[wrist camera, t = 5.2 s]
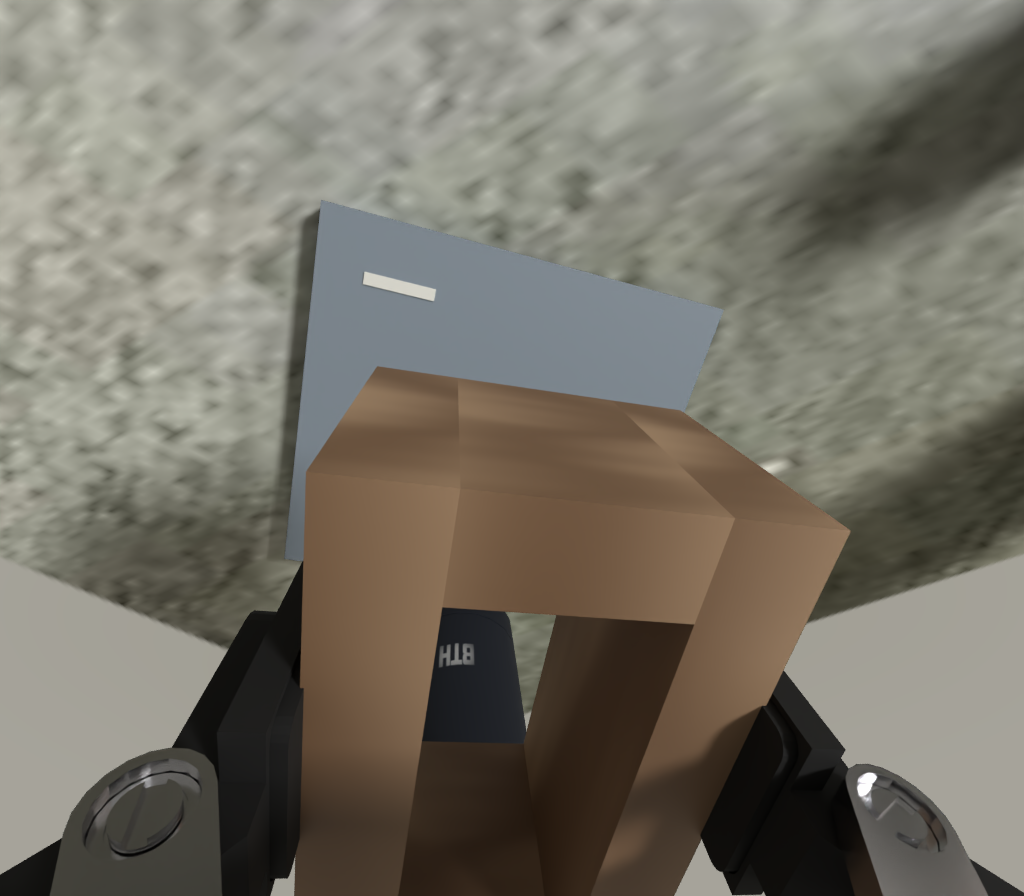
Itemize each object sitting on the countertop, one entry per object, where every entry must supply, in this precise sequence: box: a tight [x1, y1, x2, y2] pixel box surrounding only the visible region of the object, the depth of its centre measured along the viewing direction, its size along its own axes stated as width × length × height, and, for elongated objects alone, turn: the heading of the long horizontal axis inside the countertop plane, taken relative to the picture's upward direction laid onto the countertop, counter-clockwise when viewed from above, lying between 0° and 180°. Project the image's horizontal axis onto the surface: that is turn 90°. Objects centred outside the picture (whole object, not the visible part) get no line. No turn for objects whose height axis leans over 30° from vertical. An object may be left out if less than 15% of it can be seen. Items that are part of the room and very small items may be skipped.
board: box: [284, 200, 723, 561], centre depth 23 cm, size 18×17×4 cm
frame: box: [294, 366, 851, 896], centre depth 10 cm, size 6×12×5 cm, turn 170°
